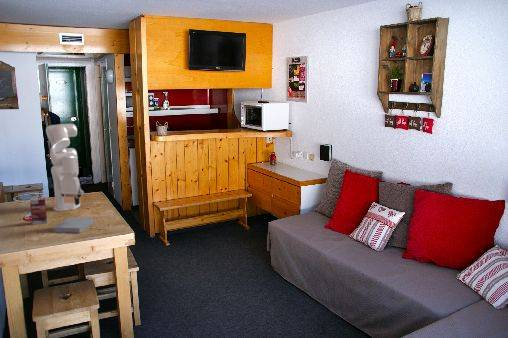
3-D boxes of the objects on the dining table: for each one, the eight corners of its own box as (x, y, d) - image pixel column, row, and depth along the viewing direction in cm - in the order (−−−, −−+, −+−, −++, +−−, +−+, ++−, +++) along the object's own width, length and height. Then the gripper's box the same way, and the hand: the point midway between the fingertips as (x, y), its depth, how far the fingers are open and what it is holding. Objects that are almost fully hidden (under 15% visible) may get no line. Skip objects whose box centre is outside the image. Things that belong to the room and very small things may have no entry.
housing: (64, 209, 263) (63, 196, 261) (71, 205, 270) (70, 193, 269) (74, 209, 262) (73, 196, 260) (80, 205, 270) (79, 193, 268)
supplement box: (32, 225, 273) (29, 200, 270) (32, 222, 277) (29, 198, 274) (47, 223, 277) (45, 198, 274) (47, 220, 281) (44, 197, 278)
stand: (69, 222, 278) (68, 217, 278) (93, 223, 277) (93, 218, 276) (54, 232, 261) (53, 227, 260) (79, 232, 259) (79, 228, 259)
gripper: (52, 176, 259) (55, 205, 263) (80, 177, 258) (83, 206, 261) (59, 173, 267) (62, 202, 270) (86, 174, 265) (88, 202, 269)
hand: (72, 204), depth 266 cm, fingers closed on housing, 6 cm apart
